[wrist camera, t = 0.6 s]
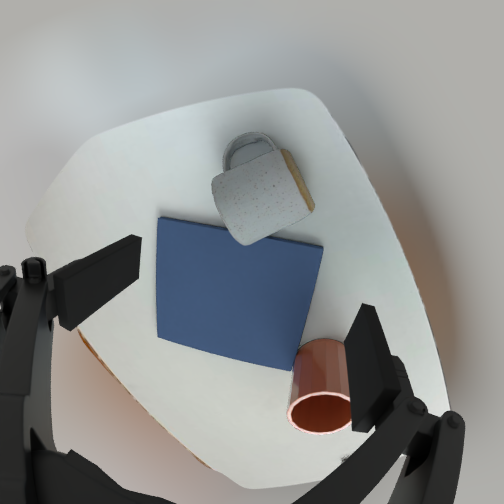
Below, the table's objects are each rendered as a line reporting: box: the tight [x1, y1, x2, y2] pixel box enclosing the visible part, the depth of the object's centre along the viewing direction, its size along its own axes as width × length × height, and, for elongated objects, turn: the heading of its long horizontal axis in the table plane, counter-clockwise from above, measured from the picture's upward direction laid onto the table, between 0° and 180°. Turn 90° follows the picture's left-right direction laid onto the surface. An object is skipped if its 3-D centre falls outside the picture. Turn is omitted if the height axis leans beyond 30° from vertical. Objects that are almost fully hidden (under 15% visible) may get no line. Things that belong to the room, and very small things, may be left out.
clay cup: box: [286, 339, 351, 435], centre depth 32 cm, size 8×8×10 cm
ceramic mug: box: [211, 132, 315, 246], centre depth 27 cm, size 11×8×8 cm
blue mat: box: [156, 217, 323, 371], centre depth 36 cm, size 18×20×1 cm
